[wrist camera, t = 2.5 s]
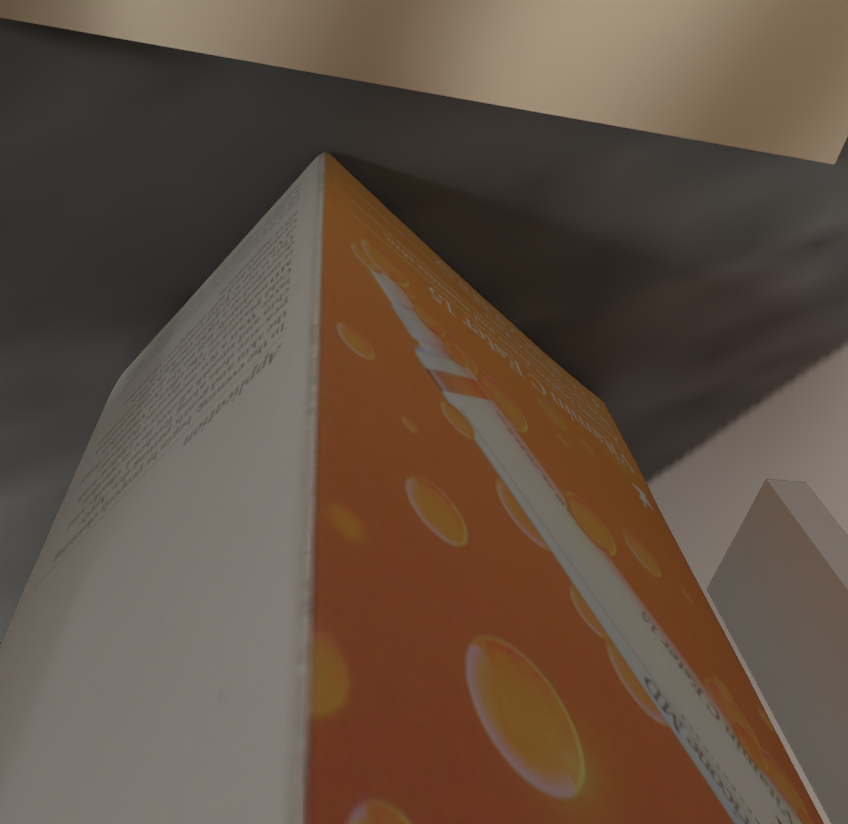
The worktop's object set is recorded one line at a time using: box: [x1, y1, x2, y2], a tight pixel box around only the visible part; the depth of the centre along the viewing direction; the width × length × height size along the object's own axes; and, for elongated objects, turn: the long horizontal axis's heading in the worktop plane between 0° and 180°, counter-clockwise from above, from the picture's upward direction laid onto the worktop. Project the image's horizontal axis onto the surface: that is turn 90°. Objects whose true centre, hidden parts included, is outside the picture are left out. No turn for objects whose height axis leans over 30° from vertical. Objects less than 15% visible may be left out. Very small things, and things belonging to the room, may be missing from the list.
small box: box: [0, 152, 824, 824], centre depth 11 cm, size 8×6×13 cm
